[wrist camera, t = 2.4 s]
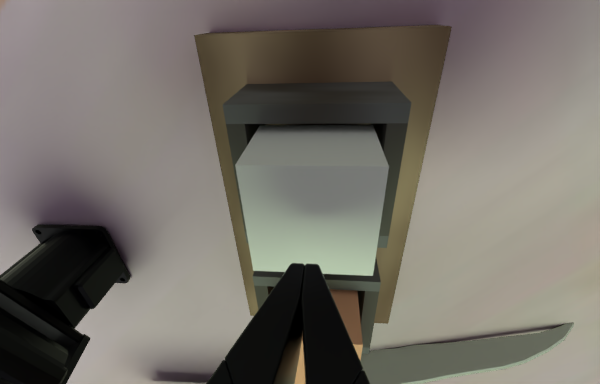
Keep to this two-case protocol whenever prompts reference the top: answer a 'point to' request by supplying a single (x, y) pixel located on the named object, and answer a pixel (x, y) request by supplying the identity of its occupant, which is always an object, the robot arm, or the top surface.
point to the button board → (329, 123)
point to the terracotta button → (351, 319)
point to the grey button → (313, 197)
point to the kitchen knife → (457, 357)
